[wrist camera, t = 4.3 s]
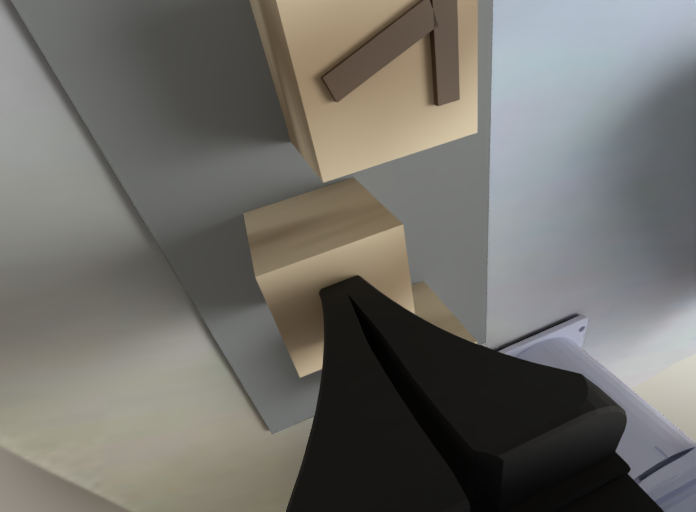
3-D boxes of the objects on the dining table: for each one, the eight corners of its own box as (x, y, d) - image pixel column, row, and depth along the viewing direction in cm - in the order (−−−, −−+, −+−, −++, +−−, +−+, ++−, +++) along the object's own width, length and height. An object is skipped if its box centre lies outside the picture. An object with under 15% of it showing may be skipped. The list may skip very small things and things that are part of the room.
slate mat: (482, 339, 23) (485, 342, 23) (271, 429, 21) (272, 434, 20) (490, -166, 11) (496, -172, 10) (-29, -74, 8) (-36, -77, 8)
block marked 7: (405, 107, 13) (481, 133, 10) (291, 142, 13) (325, 185, 9) (388, -45, 11) (483, -91, 7) (245, -12, 10) (266, -44, 6)
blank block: (372, 266, 17) (417, 329, 13) (279, 300, 16) (299, 377, 12) (353, 177, 14) (403, 224, 11) (243, 213, 14) (255, 277, 10)
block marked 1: (429, 340, 21) (479, 408, 17) (358, 370, 20) (392, 448, 16) (423, 280, 18) (480, 344, 14) (341, 312, 18) (377, 388, 14)
